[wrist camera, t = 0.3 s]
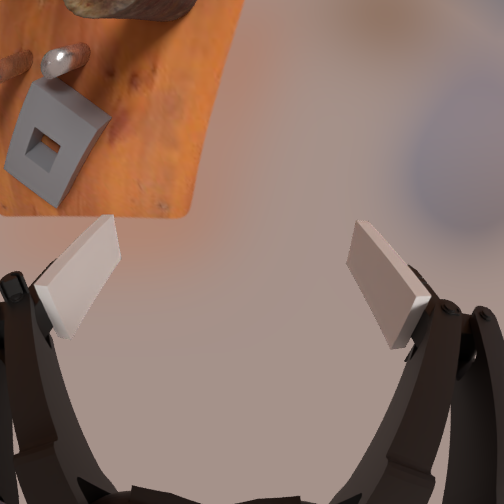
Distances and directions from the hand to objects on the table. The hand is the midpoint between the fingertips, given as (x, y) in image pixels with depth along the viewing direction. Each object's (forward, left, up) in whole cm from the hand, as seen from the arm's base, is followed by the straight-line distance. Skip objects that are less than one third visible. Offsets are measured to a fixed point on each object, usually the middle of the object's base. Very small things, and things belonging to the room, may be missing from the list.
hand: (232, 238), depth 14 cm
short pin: (+9, -24, -27) cm, 37 cm away
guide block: (+23, -20, -27) cm, 41 cm away
